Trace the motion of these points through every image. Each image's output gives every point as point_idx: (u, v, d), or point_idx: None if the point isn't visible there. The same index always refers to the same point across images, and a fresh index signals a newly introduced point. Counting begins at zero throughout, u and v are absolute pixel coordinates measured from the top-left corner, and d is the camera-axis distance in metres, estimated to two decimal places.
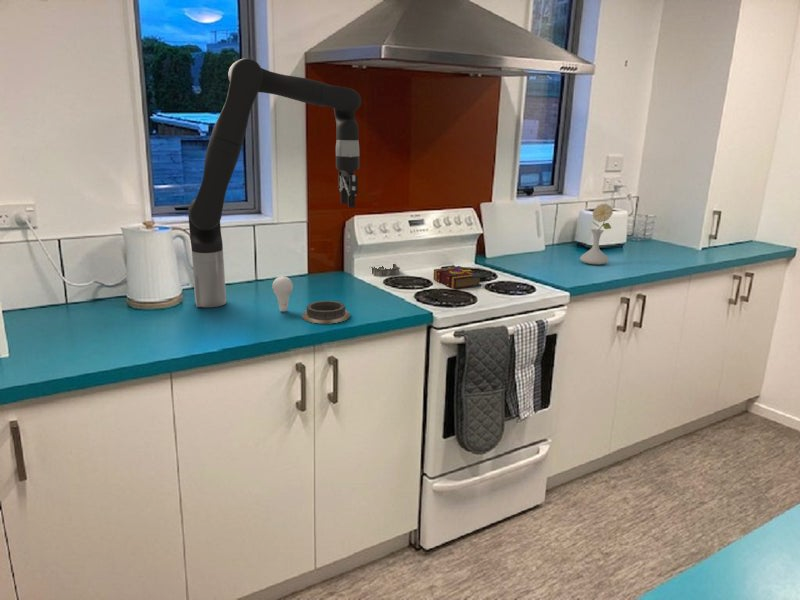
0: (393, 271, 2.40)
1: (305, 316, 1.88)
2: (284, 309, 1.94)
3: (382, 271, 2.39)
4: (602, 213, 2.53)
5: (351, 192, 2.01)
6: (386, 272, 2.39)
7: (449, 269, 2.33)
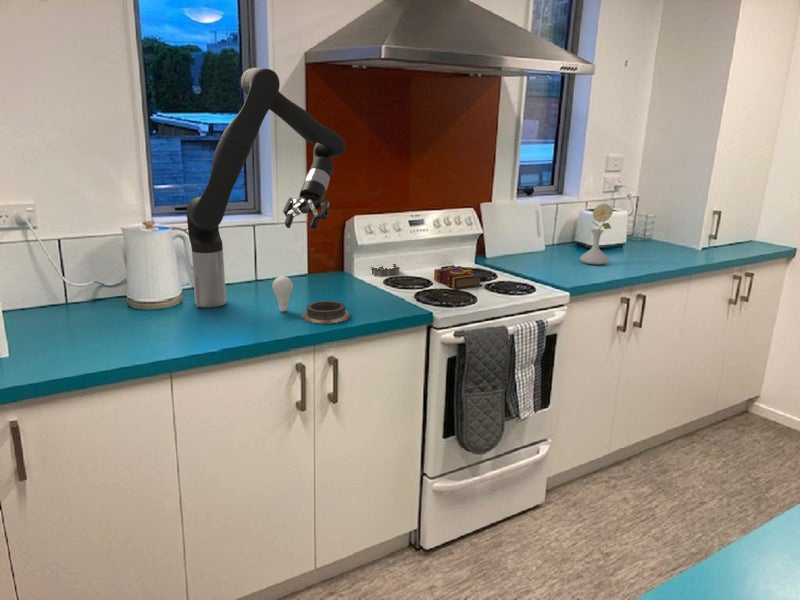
0: (393, 271, 2.40)
1: (305, 316, 1.88)
2: (284, 309, 1.94)
3: (382, 271, 2.39)
4: (602, 213, 2.53)
5: (324, 214, 1.98)
6: (386, 272, 2.39)
7: (450, 269, 2.33)
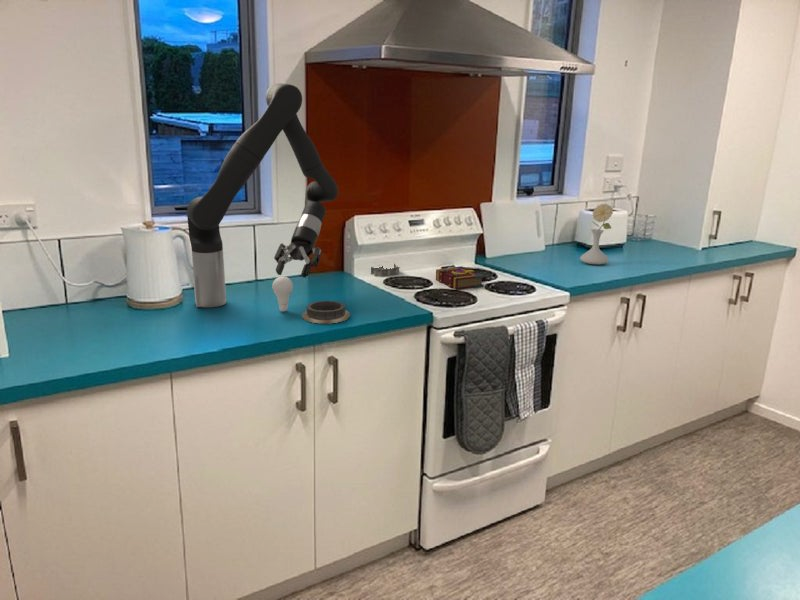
0: (393, 271, 2.41)
1: (305, 316, 1.88)
2: (284, 309, 1.94)
3: (383, 271, 2.39)
4: (602, 213, 2.53)
5: (315, 261, 1.96)
6: (387, 272, 2.39)
7: (451, 269, 2.32)
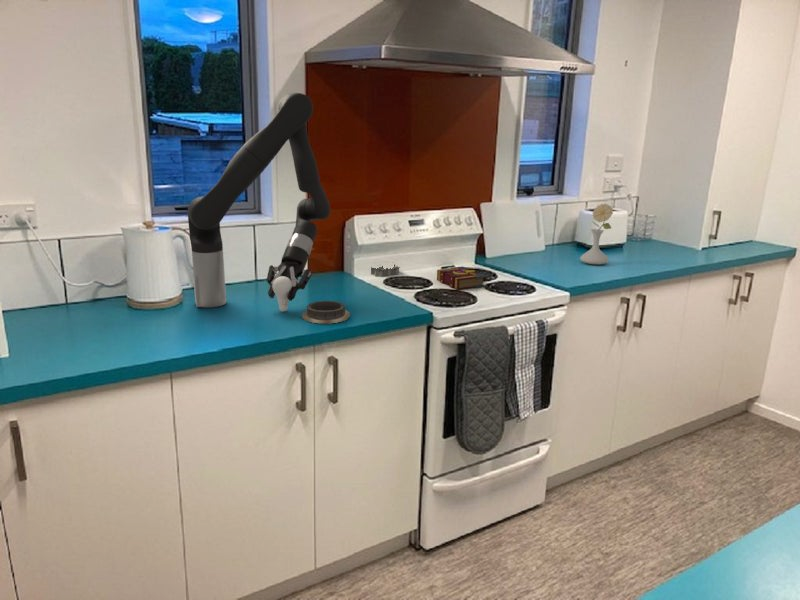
0: (393, 271, 2.41)
1: (305, 316, 1.88)
2: (284, 309, 1.94)
3: (383, 271, 2.39)
4: (602, 213, 2.53)
5: (302, 284, 1.92)
6: (387, 272, 2.39)
7: (452, 269, 2.32)
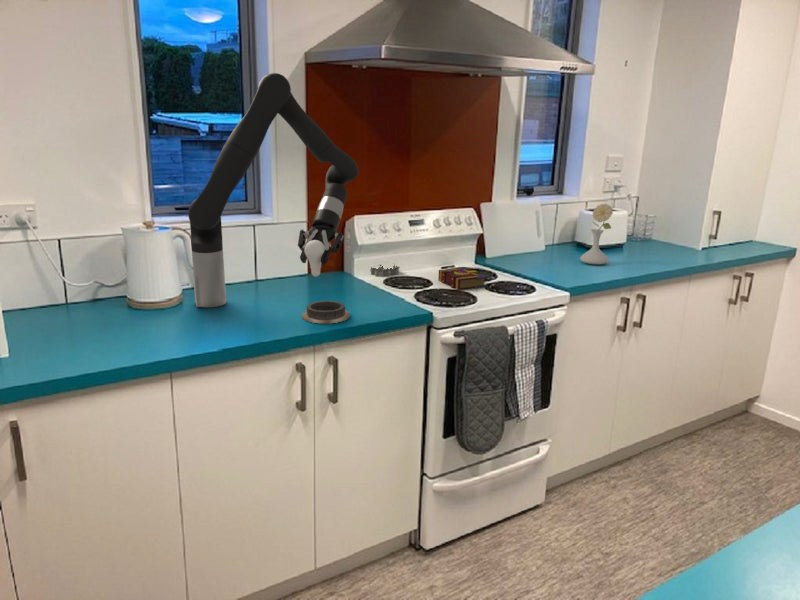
0: (393, 271, 2.41)
1: (305, 316, 1.88)
2: (317, 274, 1.88)
3: (383, 271, 2.39)
4: (602, 213, 2.53)
5: (335, 247, 1.86)
6: (387, 272, 2.39)
7: (454, 270, 2.32)
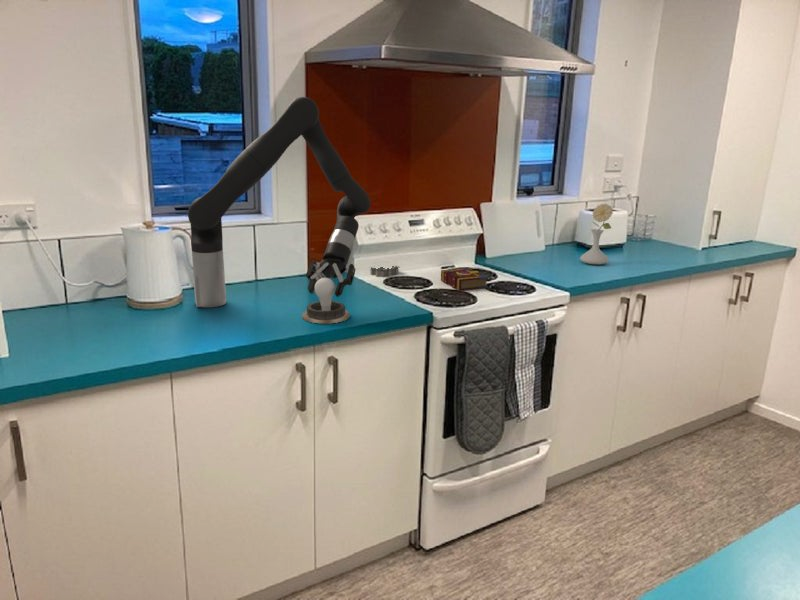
0: (393, 270, 2.41)
1: (305, 316, 1.88)
2: None
3: (384, 271, 2.39)
4: (602, 213, 2.53)
5: (349, 280, 1.87)
6: (388, 272, 2.39)
7: (456, 270, 2.31)
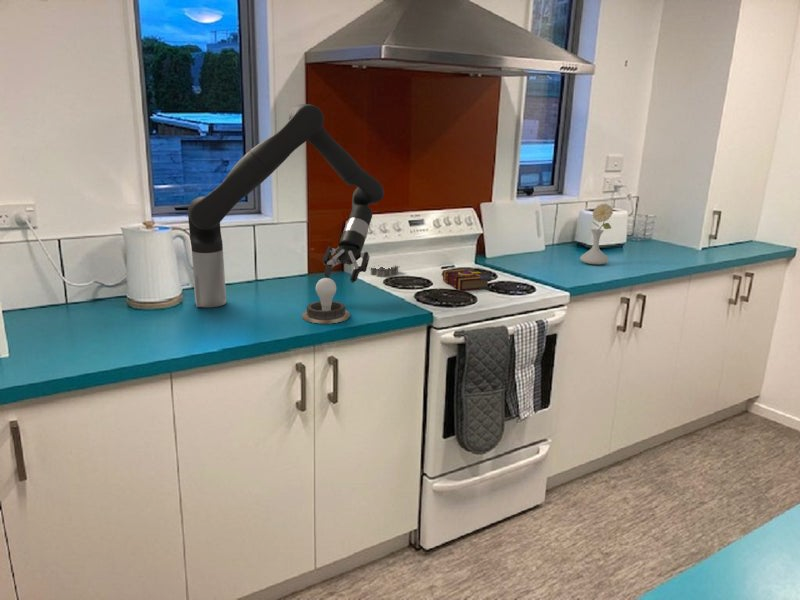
0: (393, 270, 2.41)
1: (305, 316, 1.88)
2: None
3: None
4: (602, 213, 2.53)
5: (364, 267, 1.99)
6: (388, 272, 2.39)
7: (459, 270, 2.31)
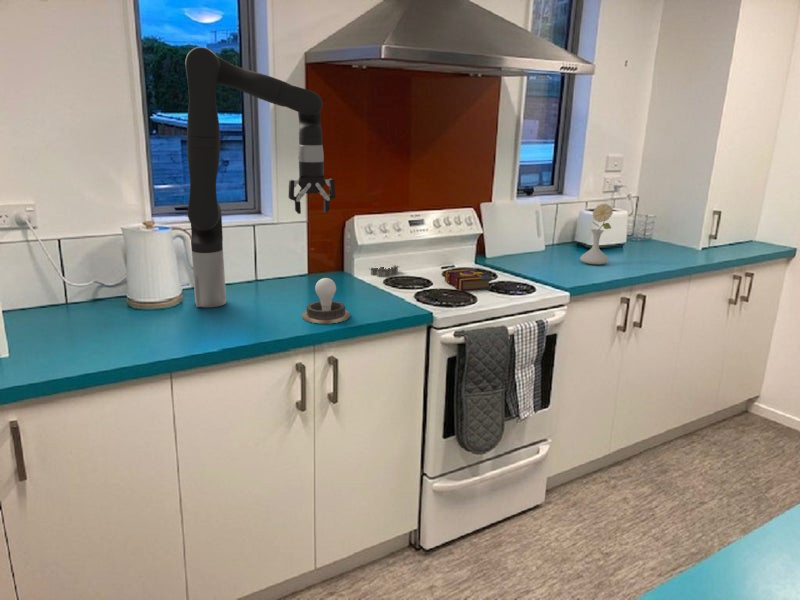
0: (393, 270, 2.41)
1: (305, 316, 1.88)
2: None
3: (385, 271, 2.39)
4: (602, 213, 2.53)
5: None
6: (388, 272, 2.39)
7: (460, 271, 2.31)
